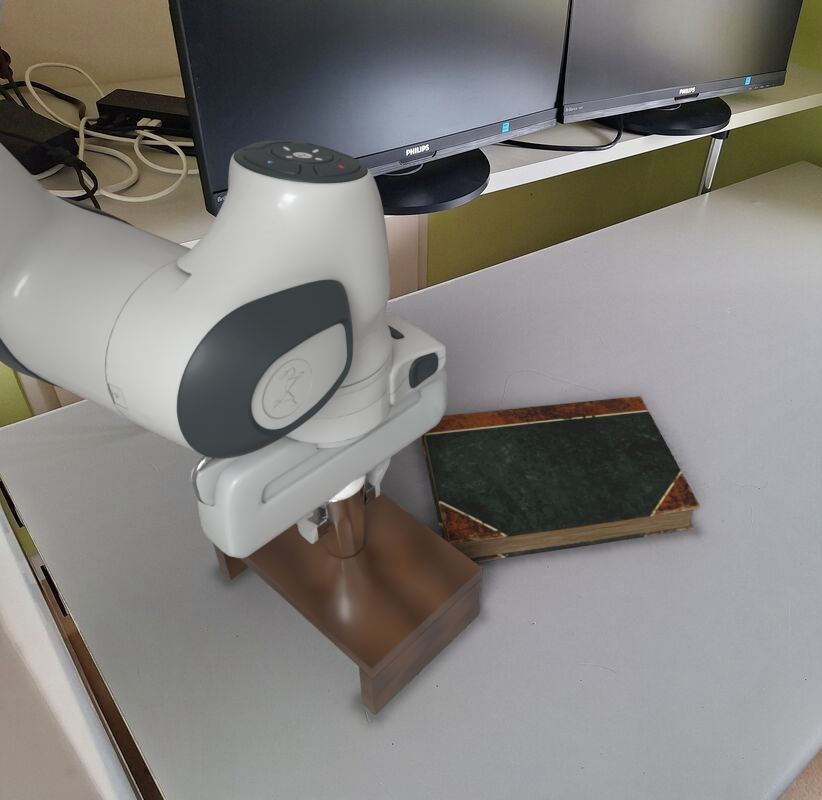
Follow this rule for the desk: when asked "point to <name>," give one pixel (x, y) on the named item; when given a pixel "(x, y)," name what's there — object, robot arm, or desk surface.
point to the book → (554, 478)
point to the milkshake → (345, 520)
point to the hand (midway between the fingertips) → (341, 514)
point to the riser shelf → (375, 594)
